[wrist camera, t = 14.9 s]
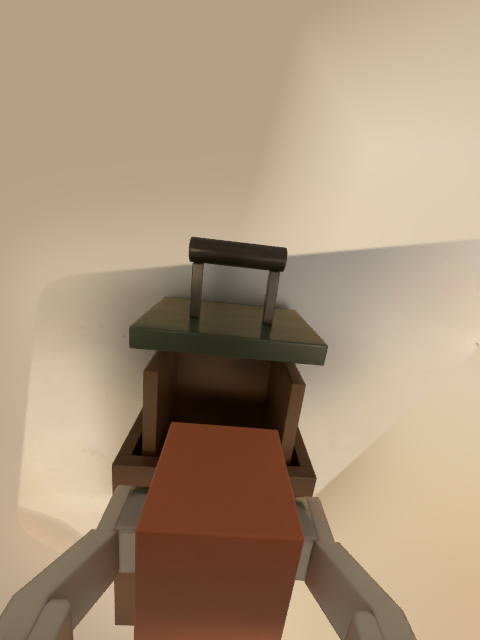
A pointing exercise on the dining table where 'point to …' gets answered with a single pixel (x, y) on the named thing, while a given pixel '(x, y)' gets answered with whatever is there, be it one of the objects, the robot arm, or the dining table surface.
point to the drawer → (225, 354)
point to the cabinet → (140, 473)
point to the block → (216, 537)
